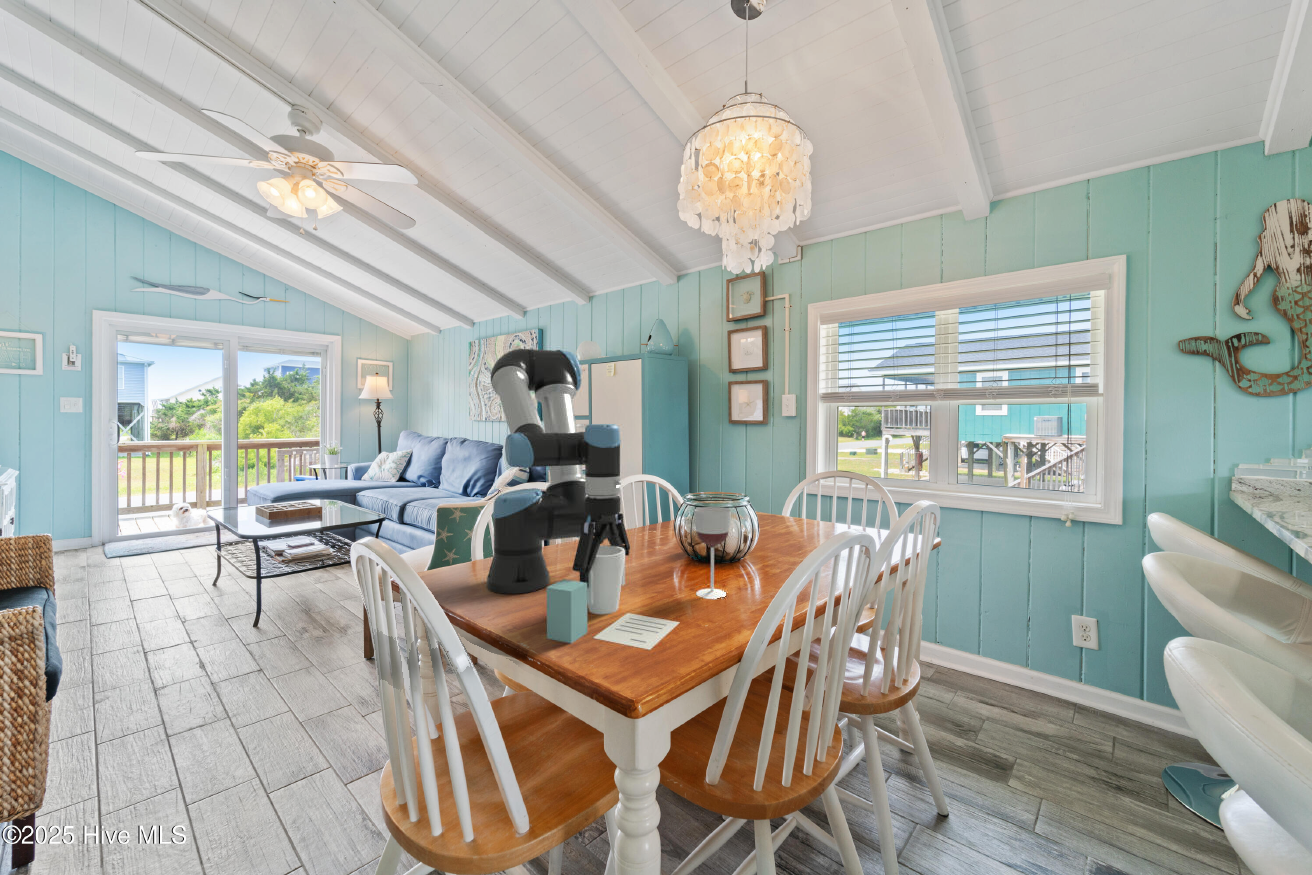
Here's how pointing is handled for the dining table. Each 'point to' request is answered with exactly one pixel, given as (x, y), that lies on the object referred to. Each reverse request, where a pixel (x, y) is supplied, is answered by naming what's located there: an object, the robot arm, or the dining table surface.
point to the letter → (637, 631)
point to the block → (566, 610)
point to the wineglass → (712, 538)
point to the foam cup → (607, 579)
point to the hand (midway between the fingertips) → (603, 593)
